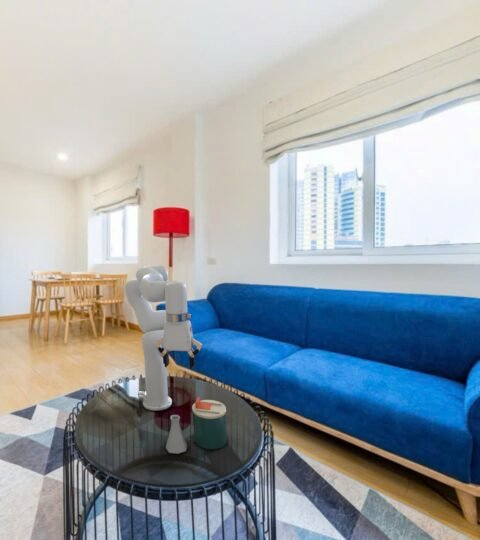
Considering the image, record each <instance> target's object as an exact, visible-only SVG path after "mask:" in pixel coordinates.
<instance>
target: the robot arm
mask: <svg viewBox="0 0 480 540" xmlns="http://www.w3.org/2000/svg"><path fill="white" fill-rule="evenodd" d="M135 277H136V278H132V279H129V280H128V281H126V283H125V285H124V291H125V296H126V299H127V301H128V303H129V304H130V307H131V308H132V309H133V311H134V314H135V317H136V320H137V324H138V326H139V329H140V330H141V332H142V333H143V334H142V336H141V338H140V342H141V343H140V344H141V349H142V353H143V361H144V381H145V391H140V390H139V391H138V392H137V398H138V399H143V400H142V406H143V407H144V408H145V409H147V410H149V411H156V412H158V411H165V410H167V409H169V408H170V407H171V406H172V404H173V399H172V398H171V397H170V396H169V387H168V366H169V365H170V354H169V353H168V352H172V351H175V352H187V354H188V355H189V358H188V361H189V362H188V364H189V369H190V370H192V369H193V368H194V367H195V366H196V356H197V355H198V354H199V352H200V350H201V349H202V347H203V343H201V342H200V341H198V340H196V339H195V338H194V334H193V333H194V332H193V327H192V321H190V320H189V319H192V318H193V316H192V314H190V313H189V312H188V292H187V285H186V283H185V282H182V281H178V280H169V271H168V269H167V268H166V267H165V266H163V265H144V266H141V267H139V268H138V269H137V270H136V272H135ZM161 302H165V309H161V310H160V309H159V310H154V309H153V306H152V304H151V303H161ZM194 346H196V348H195V350H194V349H193V347H194Z"/></svg>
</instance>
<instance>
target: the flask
mask: <svg viewBox="0 0 480 540" xmlns="http://www.w3.org/2000/svg"><path fill="white" fill-rule="evenodd" d="M180 419H181V416H180V415H179V414H172V415H170V417H169V420H170V421H171V422H170V431H169V434H168V437H167V441H166V444H165V449H166V451H167V452H168V453H169V454H176V455H177V454H181V453H184V452H187V449H188V443H187V441H186V438H185V436H184V434H183V431H182V427H181V424H180Z"/></svg>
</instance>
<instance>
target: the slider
mask: <svg viewBox="0 0 480 540" xmlns="http://www.w3.org/2000/svg"><path fill="white" fill-rule="evenodd" d="M200 401H201V397H199V396H198V397H197V398H196V400H195V402H194V403H195V407H196V408H197V409H205V410H210V408H211V405H212V404H210V403H202V402H200ZM196 408H195V409H196Z"/></svg>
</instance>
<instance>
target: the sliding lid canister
mask: <svg viewBox="0 0 480 540" xmlns="http://www.w3.org/2000/svg"><path fill="white" fill-rule="evenodd" d="M200 402H202V403H210V404H212V405H211V408H210V410H205V409H197V408H196V407H195V402H194V403H193V404H192V406H191V410H192V421H193V422H192V423H193V424H192V427H193V441H194V442H195V444H196V445H197V446H199V447H201V448H203V449H205V450H217V449H221V448H223V447H224V446H226V444H227V442H228V435H227V434H228V433H227V407H226V405H225V404H224V403H222V402H220V401H218V400H214V399H202V400H201V399H200ZM195 408H196V409H195Z"/></svg>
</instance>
